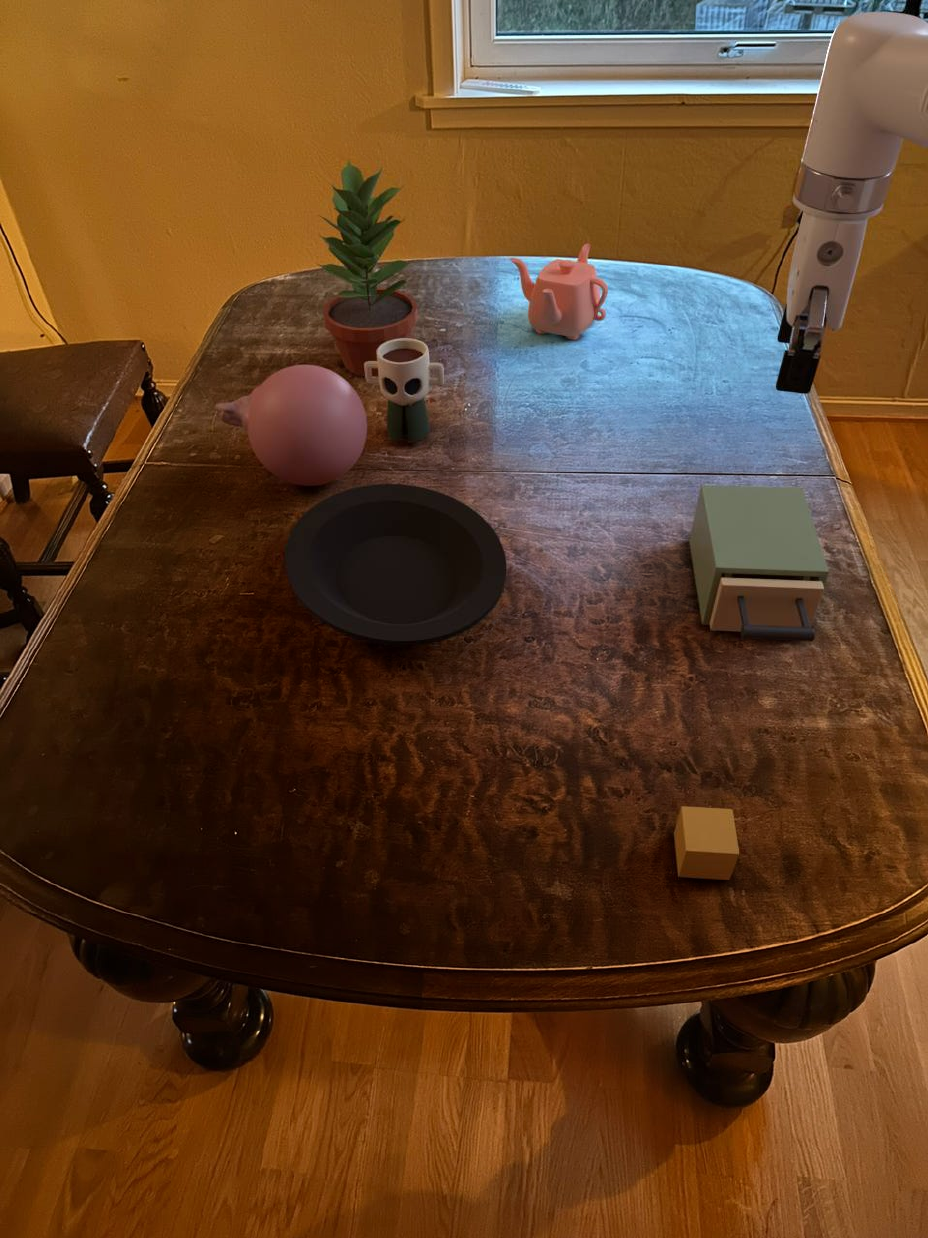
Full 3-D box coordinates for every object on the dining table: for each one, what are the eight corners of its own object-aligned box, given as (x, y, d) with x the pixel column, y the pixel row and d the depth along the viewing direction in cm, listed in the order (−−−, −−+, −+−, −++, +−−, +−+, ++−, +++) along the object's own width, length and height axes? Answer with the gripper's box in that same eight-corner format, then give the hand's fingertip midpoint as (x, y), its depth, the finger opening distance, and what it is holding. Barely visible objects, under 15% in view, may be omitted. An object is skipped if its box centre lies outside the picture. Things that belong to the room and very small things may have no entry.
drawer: (818, 673, 92) (836, 628, 87) (716, 669, 93) (729, 623, 88) (785, 553, 106) (800, 508, 101) (697, 550, 106) (707, 505, 101)
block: (723, 835, 80) (732, 808, 77) (729, 880, 77) (739, 854, 74) (673, 833, 80) (681, 806, 77) (678, 877, 77) (686, 850, 74)
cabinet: (808, 629, 98) (829, 571, 92) (702, 625, 99) (715, 567, 93) (785, 544, 108) (802, 487, 102) (689, 540, 109) (700, 484, 103)
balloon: (254, 433, 128) (231, 334, 117) (386, 449, 124) (376, 348, 113) (208, 497, 117) (179, 394, 106) (351, 516, 114) (337, 412, 103)
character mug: (367, 446, 125) (357, 362, 116) (375, 419, 130) (366, 336, 121) (443, 449, 124) (440, 364, 115) (449, 421, 129) (445, 338, 120)
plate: (551, 622, 99) (553, 585, 95) (362, 712, 91) (357, 676, 87) (425, 496, 116) (423, 460, 112) (256, 562, 108) (247, 526, 104)
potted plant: (345, 334, 149) (321, 139, 127) (431, 344, 146) (421, 146, 124) (311, 378, 139) (279, 175, 117) (403, 390, 135) (387, 183, 114)
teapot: (541, 354, 143) (544, 288, 135) (508, 316, 152) (508, 252, 144) (622, 337, 146) (629, 271, 138) (584, 301, 155) (589, 238, 148)
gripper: (894, 229, 70) (833, 416, 82) (880, 156, 82) (829, 329, 94) (796, 220, 71) (750, 406, 83) (796, 150, 83) (756, 322, 95)
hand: (792, 365), depth 89 cm, fingers open, 9 cm apart
